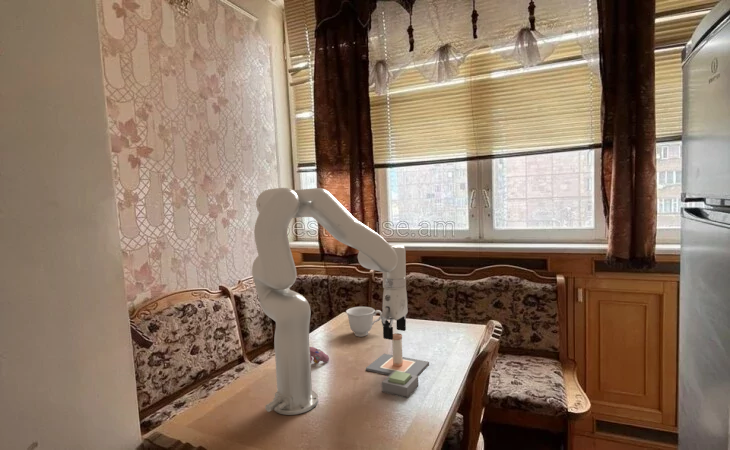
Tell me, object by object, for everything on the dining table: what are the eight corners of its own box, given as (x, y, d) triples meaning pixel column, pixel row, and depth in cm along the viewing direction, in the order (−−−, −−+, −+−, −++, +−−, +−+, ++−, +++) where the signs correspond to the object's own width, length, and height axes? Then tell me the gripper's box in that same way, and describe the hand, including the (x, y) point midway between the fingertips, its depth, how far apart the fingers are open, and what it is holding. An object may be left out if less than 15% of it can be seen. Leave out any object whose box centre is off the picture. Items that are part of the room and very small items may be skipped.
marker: (400, 367, 128) (399, 337, 127) (390, 365, 130) (389, 336, 129) (404, 363, 131) (403, 334, 130) (395, 361, 133) (394, 332, 132)
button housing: (407, 398, 110) (407, 387, 110) (382, 392, 114) (381, 382, 114) (418, 385, 117) (418, 376, 117) (394, 380, 121) (393, 371, 121)
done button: (404, 387, 112) (404, 380, 112) (389, 384, 115) (389, 377, 115) (411, 380, 117) (410, 373, 116) (396, 377, 119) (396, 370, 119)
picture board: (413, 380, 121) (413, 377, 121) (365, 370, 129) (365, 367, 129) (429, 364, 132) (429, 361, 132) (384, 355, 141) (384, 353, 140)
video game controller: (301, 365, 139) (295, 351, 136) (307, 355, 143) (301, 341, 140) (325, 369, 135) (319, 355, 132) (331, 359, 138) (325, 345, 135)
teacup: (383, 338, 157) (382, 314, 157) (345, 339, 158) (344, 315, 157) (382, 328, 169) (381, 305, 169) (347, 329, 170) (346, 306, 169)
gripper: (392, 289, 119) (393, 344, 120) (415, 279, 134) (415, 328, 135) (371, 286, 123) (372, 340, 124) (395, 277, 138) (395, 325, 139)
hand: (394, 334), depth 129 cm, fingers open, 9 cm apart
